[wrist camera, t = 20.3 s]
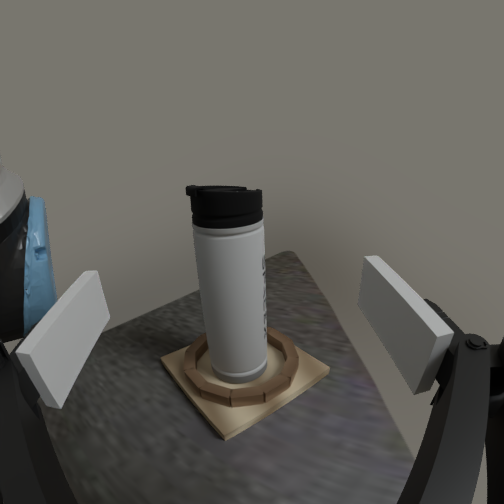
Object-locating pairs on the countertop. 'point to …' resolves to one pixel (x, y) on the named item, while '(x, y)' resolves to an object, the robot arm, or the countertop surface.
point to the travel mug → (231, 278)
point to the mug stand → (243, 394)
